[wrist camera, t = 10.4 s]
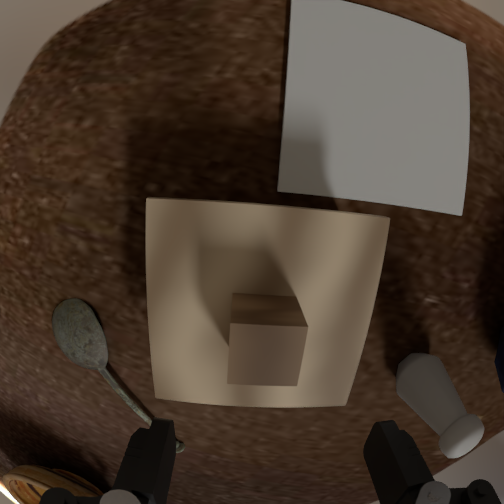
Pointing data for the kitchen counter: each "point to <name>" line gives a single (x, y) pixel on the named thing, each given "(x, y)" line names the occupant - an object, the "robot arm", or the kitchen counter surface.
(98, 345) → the soupspoon
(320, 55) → the tray
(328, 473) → the kitchen counter surface
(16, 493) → the ceramic bowl
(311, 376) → the lid
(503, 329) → the decorative orb
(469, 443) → the salt shaker
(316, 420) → the kitchen counter surface
